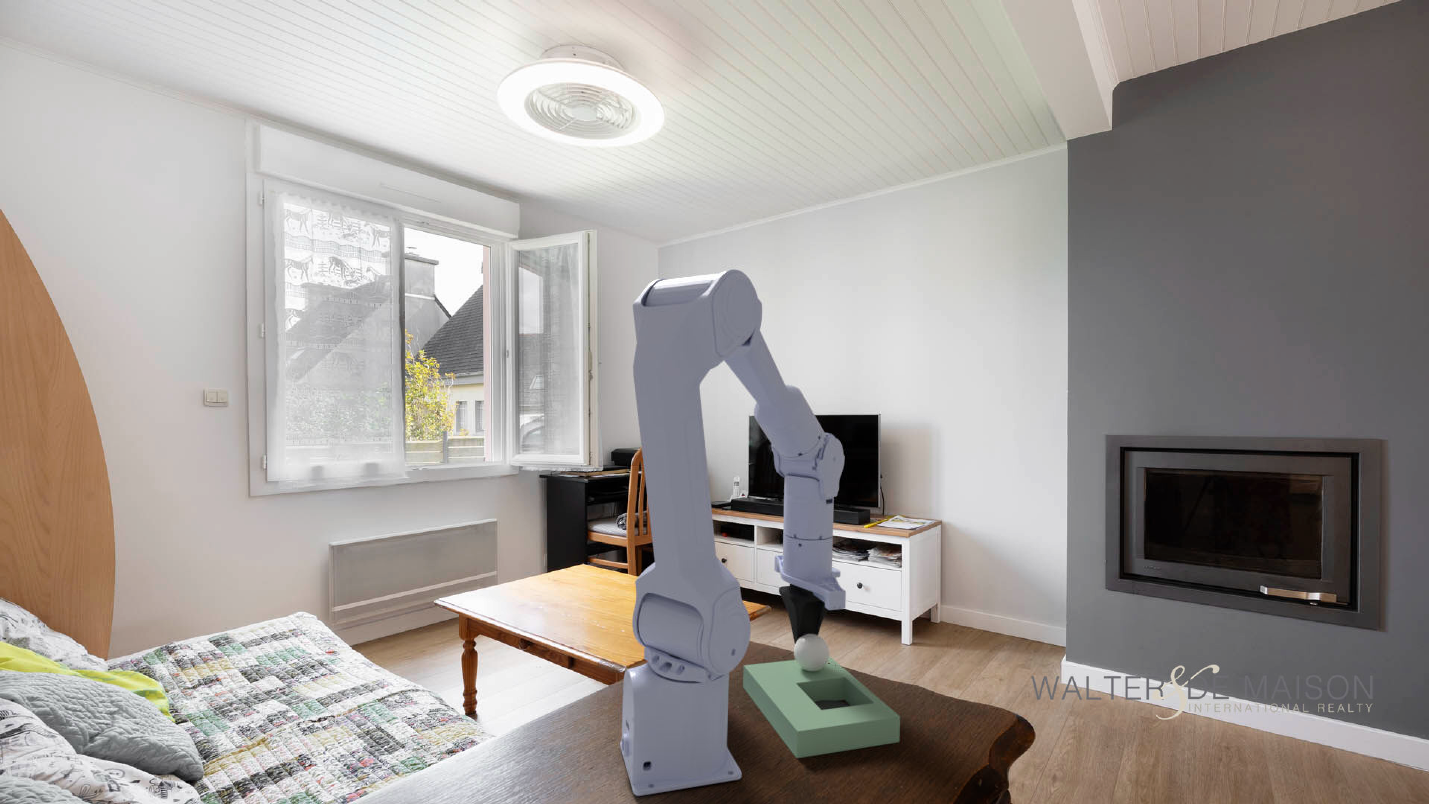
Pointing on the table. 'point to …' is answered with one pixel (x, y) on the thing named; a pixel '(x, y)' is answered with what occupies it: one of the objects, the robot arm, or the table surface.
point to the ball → (811, 652)
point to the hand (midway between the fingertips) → (805, 649)
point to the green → (819, 708)
